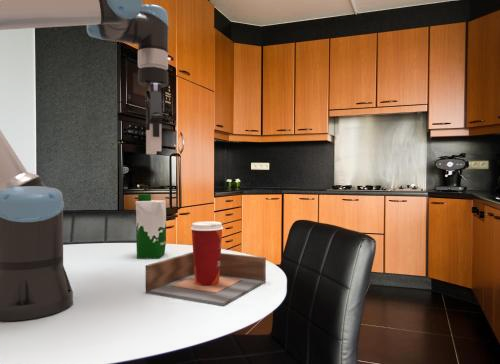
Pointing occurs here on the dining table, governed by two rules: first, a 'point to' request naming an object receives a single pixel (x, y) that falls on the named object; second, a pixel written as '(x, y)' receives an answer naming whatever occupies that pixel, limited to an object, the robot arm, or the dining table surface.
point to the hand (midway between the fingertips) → (153, 153)
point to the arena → (227, 290)
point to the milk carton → (150, 227)
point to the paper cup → (206, 252)
